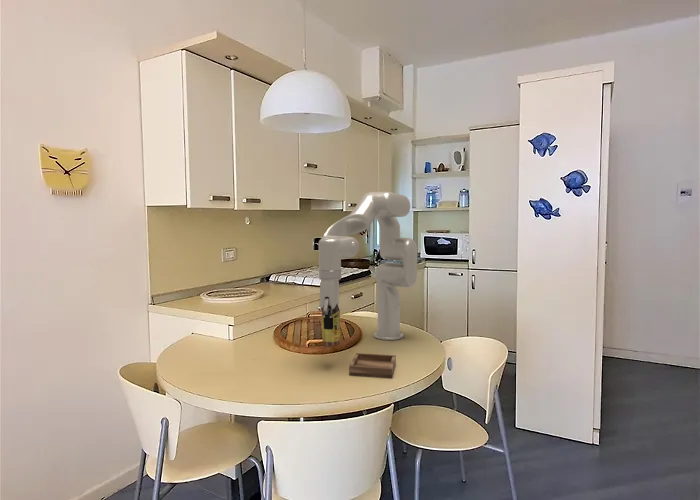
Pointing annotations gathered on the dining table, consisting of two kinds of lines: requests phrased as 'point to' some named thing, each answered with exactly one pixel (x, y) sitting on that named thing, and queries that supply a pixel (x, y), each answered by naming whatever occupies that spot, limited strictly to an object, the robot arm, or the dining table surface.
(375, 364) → the tray
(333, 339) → the sauce bottle
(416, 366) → the dining table surface
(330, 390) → the dining table surface
